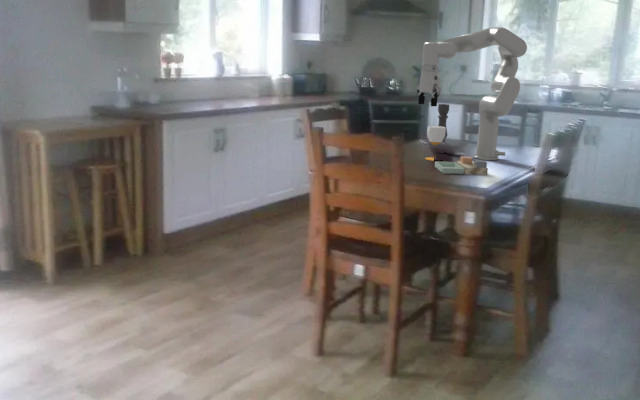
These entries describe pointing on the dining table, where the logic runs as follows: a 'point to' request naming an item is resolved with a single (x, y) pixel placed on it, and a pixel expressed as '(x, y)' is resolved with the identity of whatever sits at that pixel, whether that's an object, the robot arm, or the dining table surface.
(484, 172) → the birch platform
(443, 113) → the candle holder
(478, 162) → the slate tile
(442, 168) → the box
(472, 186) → the dining table surface
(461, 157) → the terracotta tile
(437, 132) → the cup
